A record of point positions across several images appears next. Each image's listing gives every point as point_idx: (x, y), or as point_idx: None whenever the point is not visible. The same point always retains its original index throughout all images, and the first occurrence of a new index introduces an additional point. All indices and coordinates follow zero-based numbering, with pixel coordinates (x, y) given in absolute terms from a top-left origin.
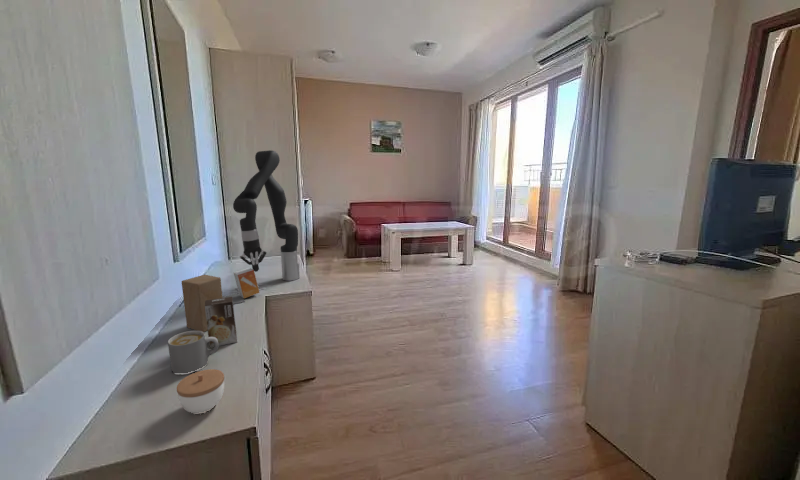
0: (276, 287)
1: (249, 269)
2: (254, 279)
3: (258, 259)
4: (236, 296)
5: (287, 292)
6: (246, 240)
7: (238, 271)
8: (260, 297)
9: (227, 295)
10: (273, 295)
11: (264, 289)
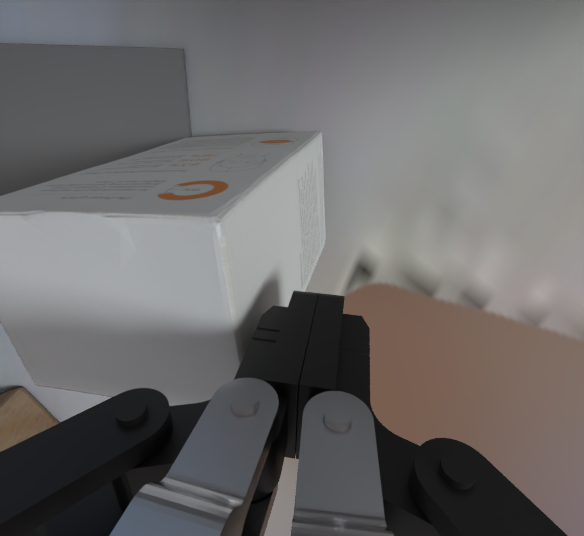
0: (560, 88)
1: (195, 351)
2: None
3: (434, 518)
4: (157, 140)
5: (529, 289)
6: None
7: (22, 256)
8: (318, 264)
9: (84, 51)
10: (412, 283)
11: (434, 72)
